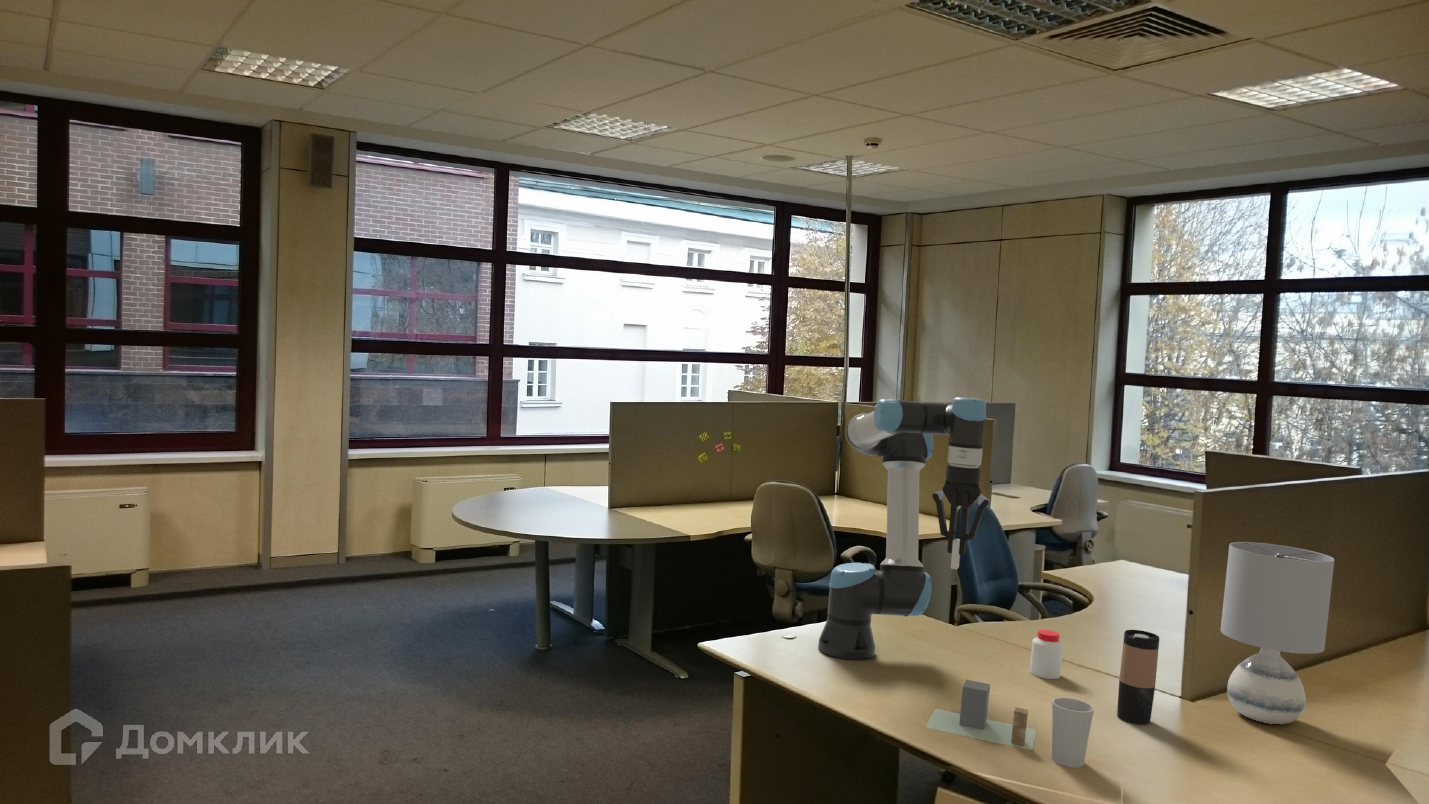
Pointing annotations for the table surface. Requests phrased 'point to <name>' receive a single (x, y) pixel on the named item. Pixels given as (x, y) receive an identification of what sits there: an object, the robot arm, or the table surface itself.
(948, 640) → the table surface
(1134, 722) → the travel mug
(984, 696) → the tall gray brick
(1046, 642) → the pill bottle
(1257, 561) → the lamp
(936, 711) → the board
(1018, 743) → the oak post
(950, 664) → the table surface
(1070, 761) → the cup
